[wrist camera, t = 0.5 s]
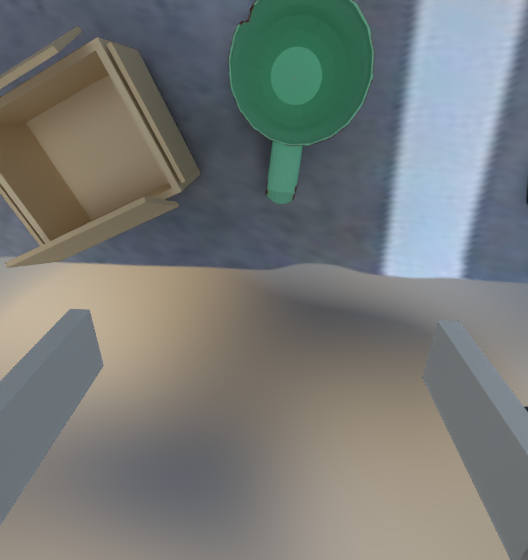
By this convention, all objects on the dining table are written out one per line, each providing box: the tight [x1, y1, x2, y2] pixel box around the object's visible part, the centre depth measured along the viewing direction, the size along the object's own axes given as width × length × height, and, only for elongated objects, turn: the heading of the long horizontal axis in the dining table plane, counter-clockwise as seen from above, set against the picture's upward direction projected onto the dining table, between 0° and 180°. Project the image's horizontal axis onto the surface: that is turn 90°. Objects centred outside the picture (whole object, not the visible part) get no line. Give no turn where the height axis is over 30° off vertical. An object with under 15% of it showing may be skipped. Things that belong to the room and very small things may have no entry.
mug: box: [228, 0, 375, 204], centre depth 30 cm, size 15×10×10 cm
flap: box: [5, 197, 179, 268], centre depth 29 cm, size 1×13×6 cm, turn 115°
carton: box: [0, 37, 201, 246], centre depth 33 cm, size 12×15×8 cm
